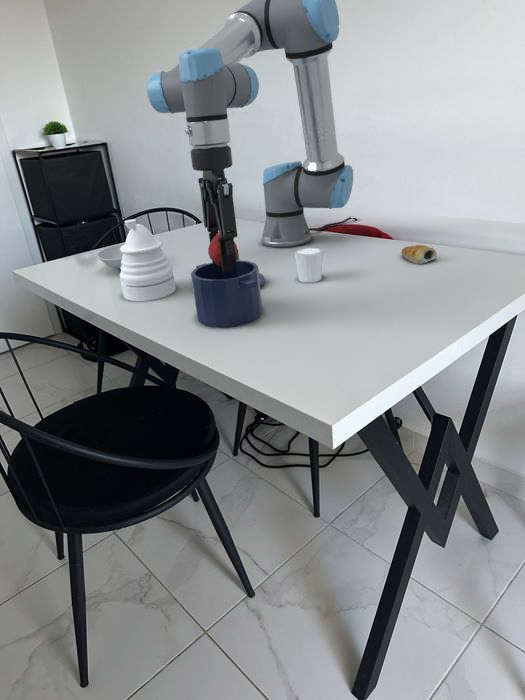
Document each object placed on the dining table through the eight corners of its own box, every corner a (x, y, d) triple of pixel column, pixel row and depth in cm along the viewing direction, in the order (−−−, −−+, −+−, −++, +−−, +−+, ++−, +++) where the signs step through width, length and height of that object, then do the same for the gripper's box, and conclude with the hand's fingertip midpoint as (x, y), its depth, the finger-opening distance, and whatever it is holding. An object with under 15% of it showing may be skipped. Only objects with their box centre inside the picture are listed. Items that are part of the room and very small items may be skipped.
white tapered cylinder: (305, 285, 122) (304, 256, 119) (291, 278, 128) (289, 250, 124) (329, 279, 125) (328, 251, 121) (314, 272, 130) (313, 245, 127)
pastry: (394, 257, 136) (395, 243, 135) (413, 252, 139) (414, 238, 137) (419, 265, 129) (420, 250, 127) (439, 260, 131) (440, 245, 129)
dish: (149, 273, 141) (145, 255, 139) (95, 280, 140) (91, 262, 137) (150, 256, 157) (148, 240, 155) (103, 262, 155) (99, 246, 153)
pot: (230, 296, 119) (226, 254, 115) (282, 317, 106) (279, 270, 101) (180, 312, 112) (173, 269, 108) (228, 337, 98) (222, 288, 94)
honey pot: (150, 304, 119) (136, 226, 111) (112, 297, 125) (96, 223, 118) (186, 286, 128) (175, 214, 121) (148, 280, 135) (136, 212, 127)
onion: (205, 271, 104) (199, 232, 100) (220, 263, 108) (215, 225, 104) (229, 273, 101) (224, 233, 97) (244, 265, 105) (240, 226, 102)
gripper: (177, 146, 101) (194, 260, 111) (205, 151, 85) (221, 283, 95) (213, 142, 103) (226, 253, 113) (247, 146, 87) (258, 275, 98)
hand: (224, 267), depth 104 cm, fingers closed on onion, 6 cm apart
